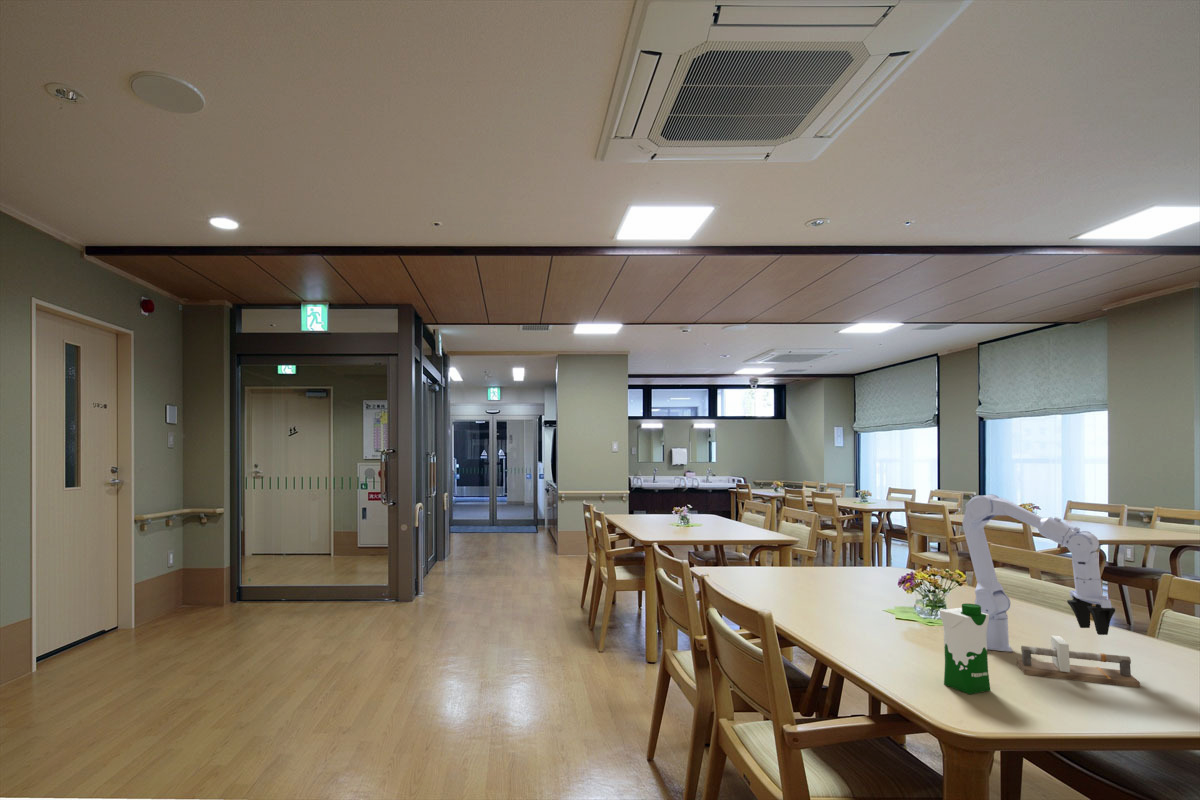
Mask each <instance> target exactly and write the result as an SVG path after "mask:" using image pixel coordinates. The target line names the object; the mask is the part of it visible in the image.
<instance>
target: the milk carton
mask: <svg viewBox="0 0 1200 800" xmlns="http://www.w3.org/2000/svg"><path fill="white" fill-rule="evenodd" d="M939 614H940V618H941V622H942V627H943V645H944V646H943V647H944V648H943V649H944V671H943V672H944V676H943V685H945V686H948V687H950V688H953V689H955V690H958V691H960V692H962V693H964V694H967V695H974V694H979V693H983V692H989V691H991V685H990V674H989V662H988V661H989V660H988V649H987V634H986V633H987V626H988V620H989V614H985V613H982V612H981V606H979V605H976V604H975V603H962V604H961V607H955V608H946V609H940V610H939Z"/></svg>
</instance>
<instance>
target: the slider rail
mask: <svg viewBox="0 0 1200 800" xmlns="http://www.w3.org/2000/svg"><path fill="white" fill-rule="evenodd" d="M1020 649H1021V650H1020V651H1021V657H1022V659H1019V658H1017V659H1016V665H1017V666H1018V667H1019V669H1020V670H1021V672H1022V673H1023V674H1024V675H1027V676H1029V675H1030V676H1038V677H1047V678H1056V679H1063V680H1073V681H1082V682H1091V683H1098V684H1109V685H1117V686H1125V687H1134V688H1141V682H1140V681H1139V680H1138V679H1137V678H1135V677H1134V675H1132V671H1131V664H1132V659H1131V657H1130V656H1127V655H1125V656H1124V655H1116V654H1106V653H1097V652H1087V651H1077V650H1069V659H1075V660H1085V661H1092V662H1093V661H1096V662H1101V663H1113V664H1119V669H1113V668H1103V667H1100V666H1099V667H1098V666H1097V667H1095V666H1094V667H1093V666H1085V665H1077V664H1070V672H1063V671H1060V670H1059V669H1058V668H1057V667H1056V665H1055V664H1054V663H1053V662H1049V661H1037V660H1032V655H1036V656H1037V655H1038V656H1044V657H1045V656H1046V657H1052V656H1055V657H1057V649H1052V648H1049V647H1046V648H1045V647H1037V646H1028V645H1027V646H1025V645H1021V647H1020Z"/></svg>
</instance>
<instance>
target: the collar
mask: <svg viewBox="0 0 1200 800" xmlns="http://www.w3.org/2000/svg"><path fill="white" fill-rule="evenodd" d="M1050 641H1051V649H1057V657H1055V656H1051V661H1052V662H1051V663H1054V664H1055V665H1056V667H1057V668H1058V669H1059V670H1060V671H1063V672H1070V665H1071V664H1070V663H1071V662H1070V658H1069V651H1070V648H1069V646H1070V645H1069V643H1068V642H1067V641H1065V639H1063V638H1062V636H1059V635H1051V636H1050Z"/></svg>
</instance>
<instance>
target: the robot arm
mask: <svg viewBox="0 0 1200 800" xmlns="http://www.w3.org/2000/svg"><path fill="white" fill-rule="evenodd" d="M996 516H1007V517H1008V516H1009V517H1011V518H1013V519H1015V520H1017V521H1019V522H1023V523H1024V524H1026V525H1029V526H1030V527H1031V526H1032V527H1033V528H1035V529H1036V530H1038V533H1039V535H1041V536H1043V537H1044V538H1046V539H1049V540H1050V541H1053V542H1054V543H1057V544H1059V545H1061V546H1063V547H1066V548H1067V550H1068V551H1069V552H1070V553H1071V562H1072V563H1071V565H1072V570H1073V571H1072V573H1073V581H1074V590H1069V597H1070V599H1067V604H1068V605H1069V606H1070V608H1071V610H1072V612H1073V613H1074V615H1075V619H1076V621H1077V623H1078V627H1079V628H1081V629H1090V628H1091V617H1092V620H1093V622H1094V627H1095V631H1096V634H1097V635H1098V636H1107V635H1108V634H1109V629H1110V625H1111V620H1112V617H1113V615H1114V614H1115V612H1116V608H1115V607H1112V601H1111V600H1110V599H1108V595H1105V594H1103V588H1102V579H1101V572H1100V564H1099V563H1100V561H1099V559H1098V552H1097V550H1098V549H1099V548H1100V541H1099V539H1098V537H1097V536H1096V535H1095V534H1093V533H1092V532H1091V531H1088V530H1083V531H1082V530H1081V528H1079V527H1077V526H1074V527H1073V526H1071V525H1069V524H1067V523H1065V522H1063V521H1062V519H1061V518H1059V517H1057V516H1055V517H1052V516H1047V517H1045V518H1043V517H1041V516H1040V515H1037V514H1036V513H1034V512H1032V511H1030V510H1028V509H1026V508H1024V507H1022V506H1020V505H1018V504H1016V503H1014V502H1013V501H1010V500H1008V499H1006V498H1003V497H1000V496H998V495H996V494H986V495H985V494H984V495H975V496H973V497H971V498H970V499H969V500H968V501H967V503H965V512H964V515H963V519H962V521H961V522H962V523H961V524H962V529H963V533H964V536H965V540H966V545H967V548H968V552H969V556H970V559H971V563H972V567H973V571H974V575H975V579H976V587H975V589H974V592H975V601H974V604H976V605H979V606H981V612H982V613H985V614H989V620H988V626H987V633H986V634H987V651H988V650H991V651H1000V652H1010V653H1013V652H1014V650H1013V648H1012V647H1011V646H1010V644H1009V643H1010V641H1009V640H1010V639H1009V638H1010V637H1009V620H1008V617H1009V616H1008V613H1007V612H1008V611H1009V610H1010V608H1011V599H1010V598H1009V596H1008V594H1006V592H1005V589H1004V587H1003V585H1002V584H1001V583H1000V581H999V580H998V577H997V573H996V570H995V566H994V562H993V558H992V554H991V551H990V548H989V544H988V540H987V536H986V532H985V527H986V525H987V524H988V523H989V522H990V520H992V519H993V518H994V517H995V518H996ZM1094 605H1095V606H1094Z"/></svg>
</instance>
